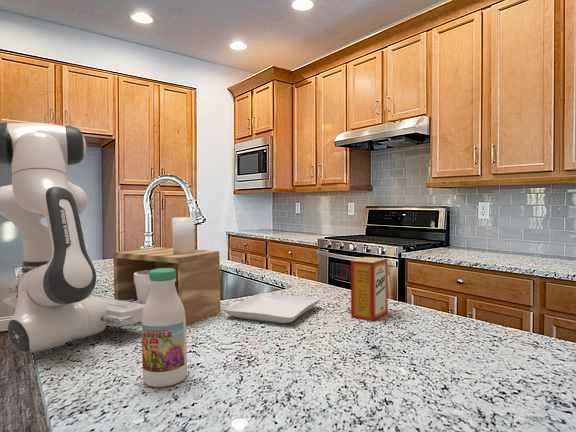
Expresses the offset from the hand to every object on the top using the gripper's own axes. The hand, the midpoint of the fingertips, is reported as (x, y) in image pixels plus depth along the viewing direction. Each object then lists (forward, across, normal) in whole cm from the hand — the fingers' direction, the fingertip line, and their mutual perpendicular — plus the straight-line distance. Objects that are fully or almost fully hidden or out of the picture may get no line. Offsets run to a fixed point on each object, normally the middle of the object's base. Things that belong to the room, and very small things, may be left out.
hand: (137, 302), depth 104 cm
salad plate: (+24, -28, +6) cm, 38 cm away
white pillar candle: (+10, -7, -12) cm, 18 cm away
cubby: (+10, 0, +6) cm, 12 cm away
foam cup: (+5, 0, +6) cm, 7 cm away
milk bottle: (-20, -32, +6) cm, 38 cm away
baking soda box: (+35, -53, +6) cm, 63 cm away
